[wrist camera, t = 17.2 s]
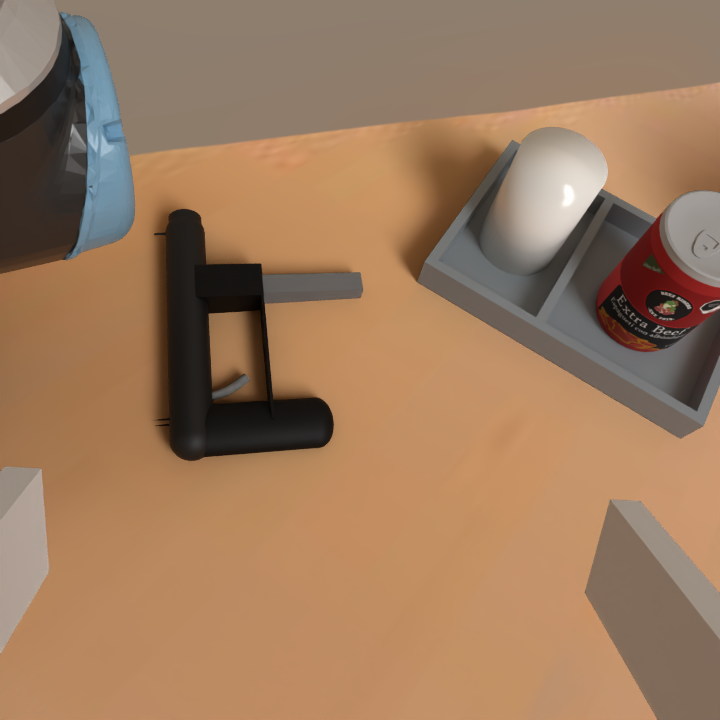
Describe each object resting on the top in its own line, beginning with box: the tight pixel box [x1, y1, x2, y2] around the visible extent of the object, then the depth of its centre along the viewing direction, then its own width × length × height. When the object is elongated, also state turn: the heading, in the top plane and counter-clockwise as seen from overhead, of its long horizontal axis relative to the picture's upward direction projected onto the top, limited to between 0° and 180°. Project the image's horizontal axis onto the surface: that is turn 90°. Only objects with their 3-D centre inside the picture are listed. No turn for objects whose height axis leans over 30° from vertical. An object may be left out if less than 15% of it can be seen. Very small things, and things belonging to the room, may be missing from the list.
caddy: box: [417, 140, 720, 439], centre depth 53 cm, size 24×16×3 cm, turn 58°
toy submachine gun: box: [154, 209, 363, 461], centre depth 49 cm, size 3×20×16 cm
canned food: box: [596, 190, 720, 352], centre depth 48 cm, size 8×8×11 cm
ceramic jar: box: [479, 127, 608, 276], centre depth 51 cm, size 7×7×10 cm
